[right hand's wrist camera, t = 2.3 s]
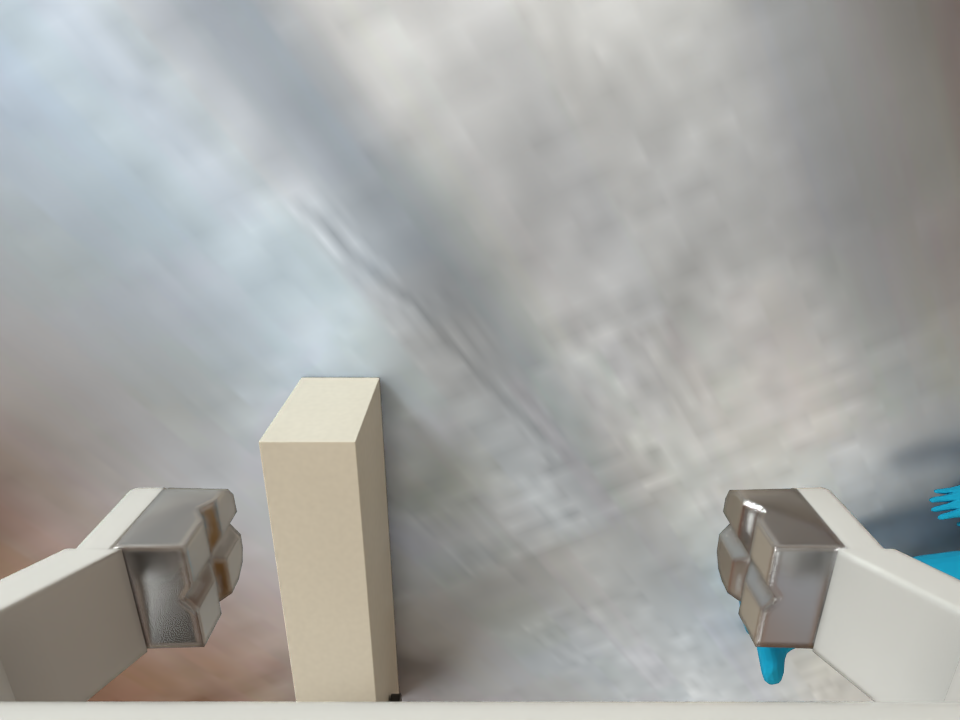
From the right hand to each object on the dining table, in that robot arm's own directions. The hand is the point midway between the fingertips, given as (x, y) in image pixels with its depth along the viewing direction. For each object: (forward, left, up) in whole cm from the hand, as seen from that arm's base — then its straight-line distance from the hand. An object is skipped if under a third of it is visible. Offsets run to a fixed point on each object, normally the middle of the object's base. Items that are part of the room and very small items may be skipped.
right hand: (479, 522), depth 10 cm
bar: (+23, +10, -28) cm, 38 cm away
